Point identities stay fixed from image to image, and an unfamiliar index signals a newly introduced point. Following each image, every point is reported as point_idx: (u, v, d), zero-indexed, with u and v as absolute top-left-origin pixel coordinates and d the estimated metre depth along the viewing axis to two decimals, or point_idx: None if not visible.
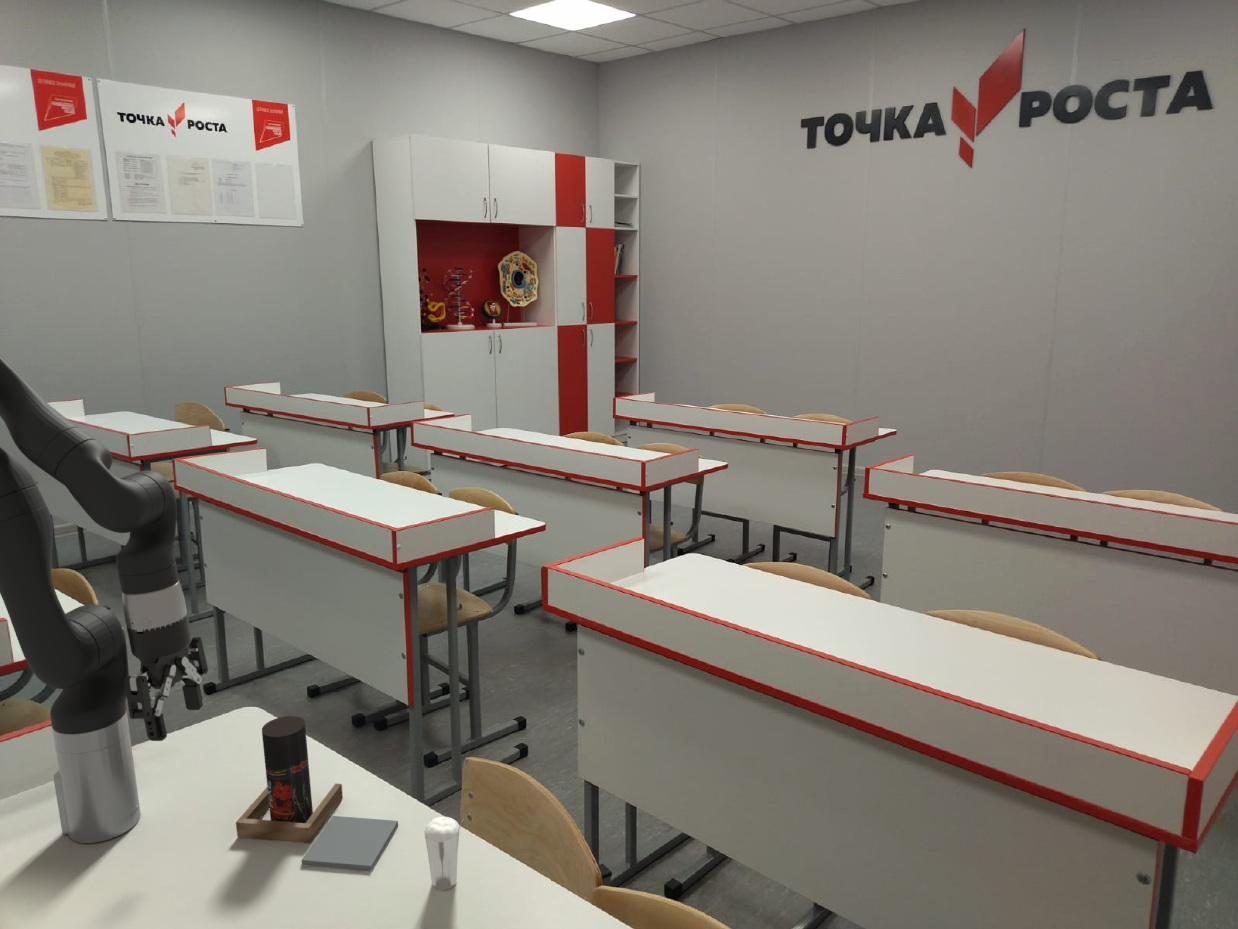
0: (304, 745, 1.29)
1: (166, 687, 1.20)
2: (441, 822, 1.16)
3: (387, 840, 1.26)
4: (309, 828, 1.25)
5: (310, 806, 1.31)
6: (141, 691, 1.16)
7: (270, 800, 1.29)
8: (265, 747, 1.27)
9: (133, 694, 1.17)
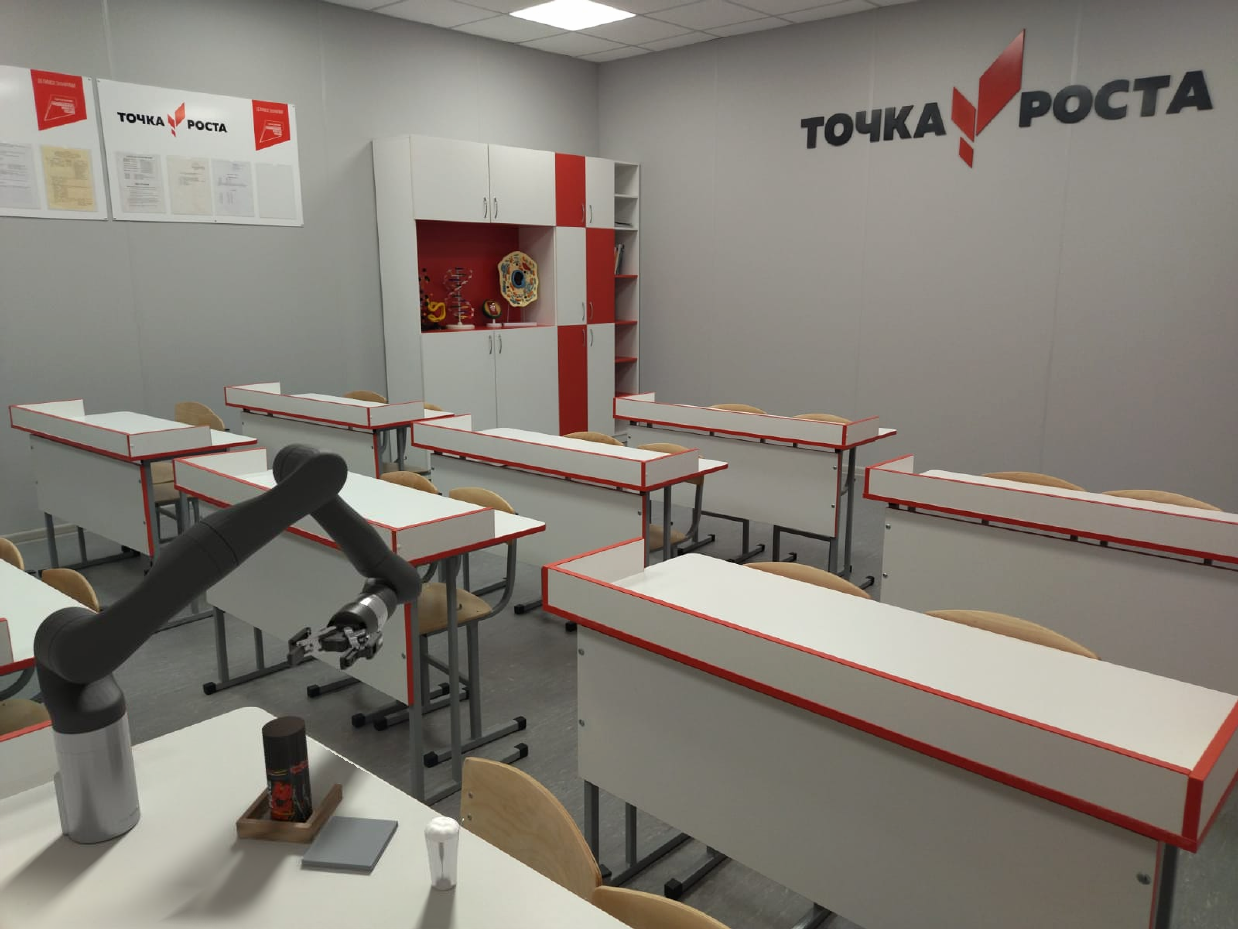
0: (304, 745, 1.29)
1: None
2: (441, 822, 1.16)
3: (387, 840, 1.26)
4: (309, 828, 1.25)
5: (310, 806, 1.31)
6: None
7: (270, 800, 1.29)
8: (265, 747, 1.27)
9: (377, 641, 1.45)
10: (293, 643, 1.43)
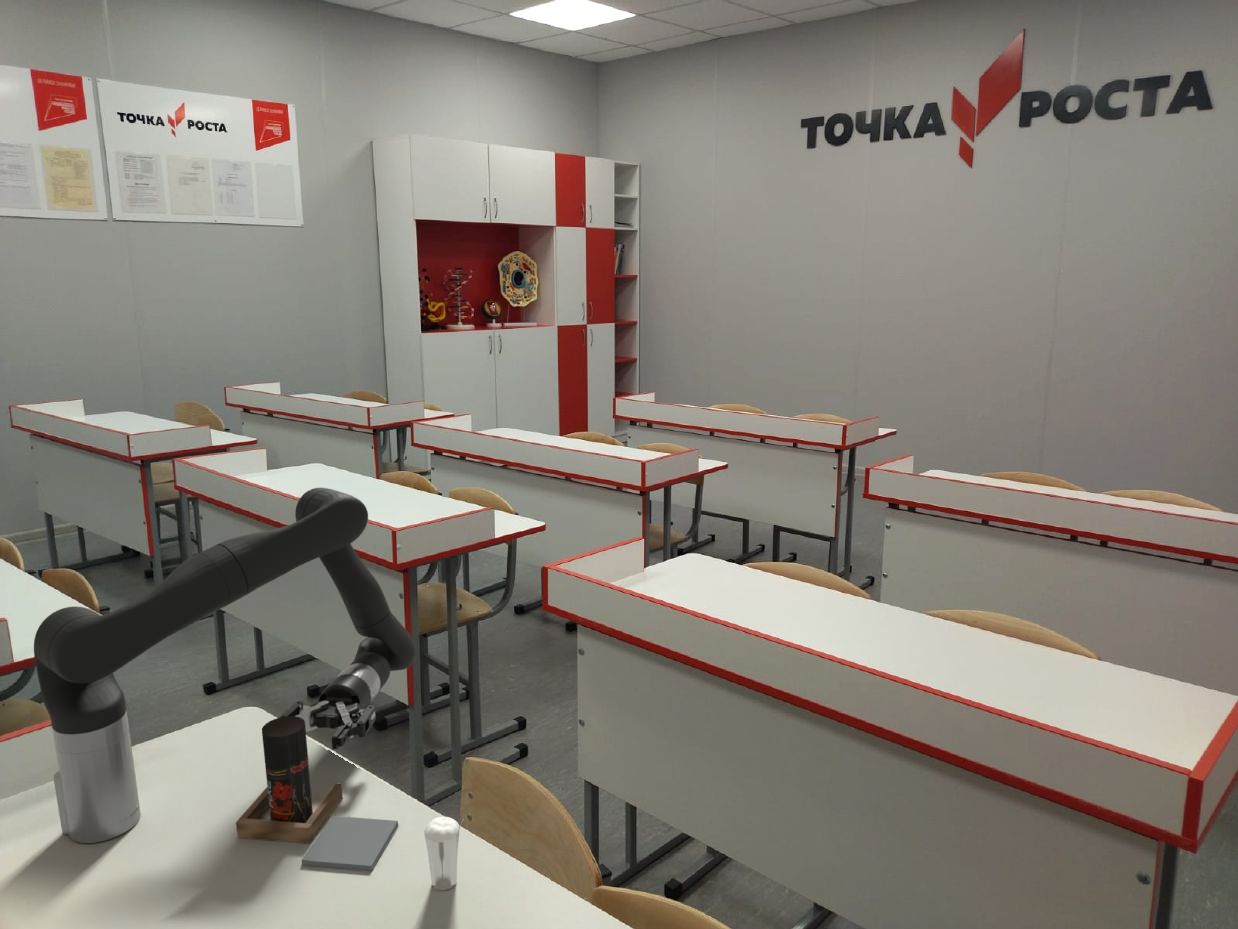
0: (304, 745, 1.29)
1: None
2: (441, 822, 1.16)
3: (387, 840, 1.26)
4: (309, 828, 1.25)
5: (310, 806, 1.31)
6: (372, 723, 1.44)
7: (270, 800, 1.29)
8: (265, 747, 1.27)
9: (370, 717, 1.43)
10: None
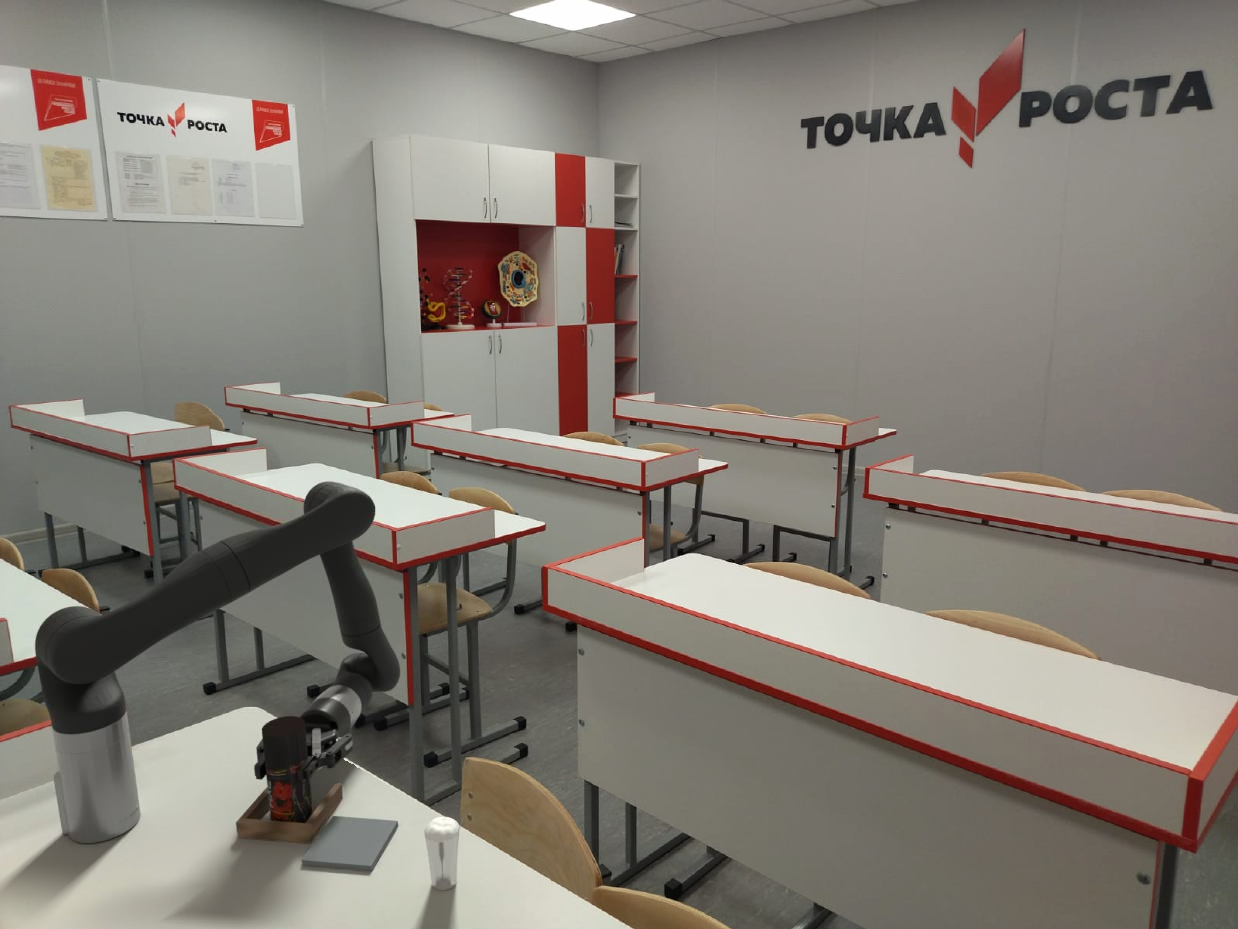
0: (304, 745, 1.29)
1: None
2: (441, 822, 1.16)
3: (387, 840, 1.26)
4: (309, 828, 1.25)
5: (310, 806, 1.31)
6: (347, 754, 1.35)
7: (270, 800, 1.29)
8: (265, 747, 1.27)
9: (344, 747, 1.34)
10: (263, 750, 1.32)
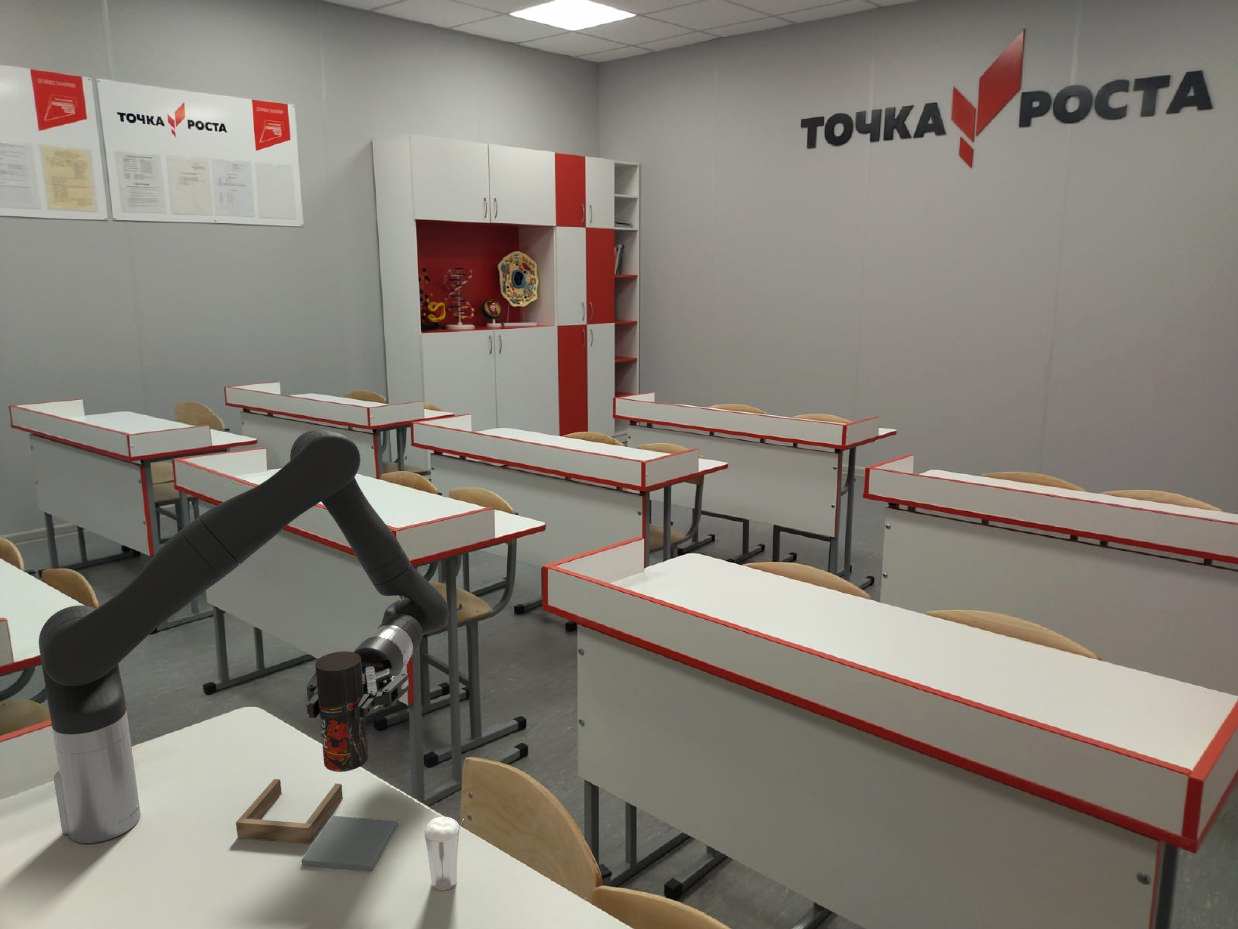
0: (360, 681, 1.20)
1: None
2: (441, 822, 1.16)
3: (387, 840, 1.26)
4: (309, 828, 1.25)
5: (366, 747, 1.23)
6: (403, 693, 1.26)
7: (324, 740, 1.20)
8: (319, 682, 1.18)
9: (400, 686, 1.25)
10: (314, 688, 1.24)
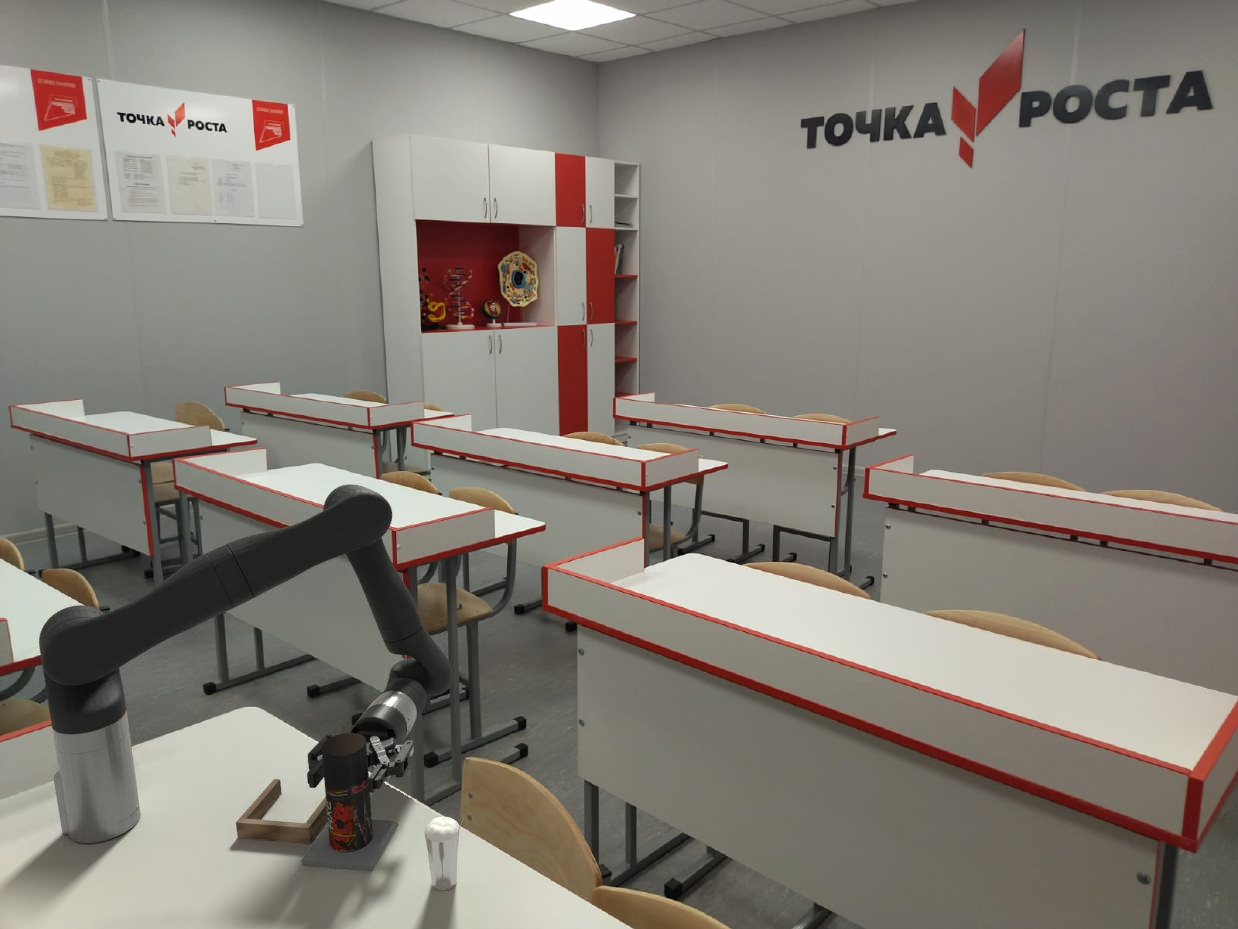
0: (365, 764, 1.23)
1: None
2: (441, 822, 1.16)
3: (387, 840, 1.26)
4: (309, 828, 1.25)
5: (371, 827, 1.25)
6: None
7: (330, 821, 1.23)
8: (325, 766, 1.20)
9: (408, 754, 1.28)
10: (313, 757, 1.26)
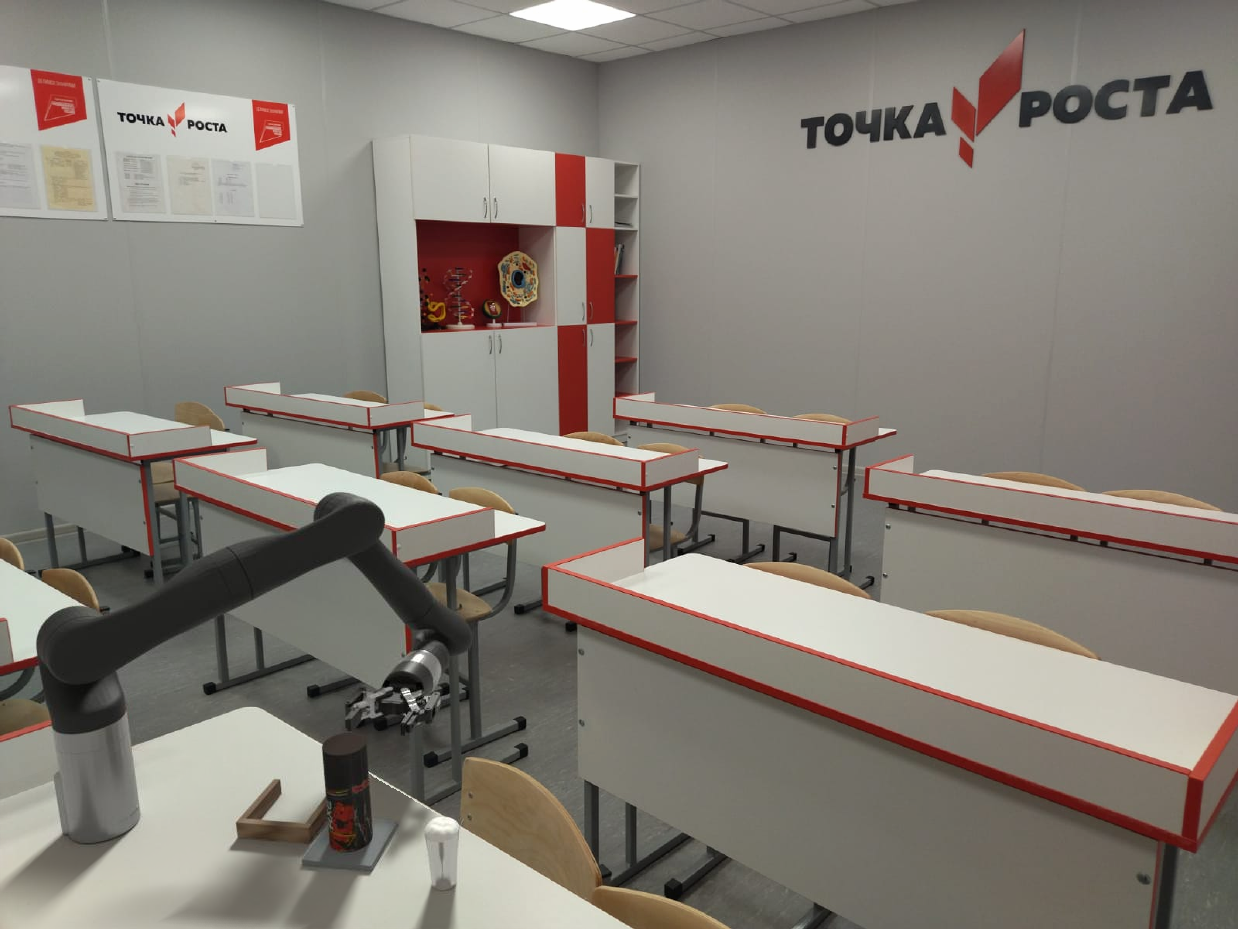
0: (366, 763, 1.23)
1: None
2: (441, 822, 1.16)
3: (387, 840, 1.26)
4: (309, 828, 1.25)
5: (371, 827, 1.25)
6: (438, 710, 1.41)
7: (330, 821, 1.23)
8: (326, 766, 1.21)
9: (436, 704, 1.40)
10: (350, 705, 1.39)
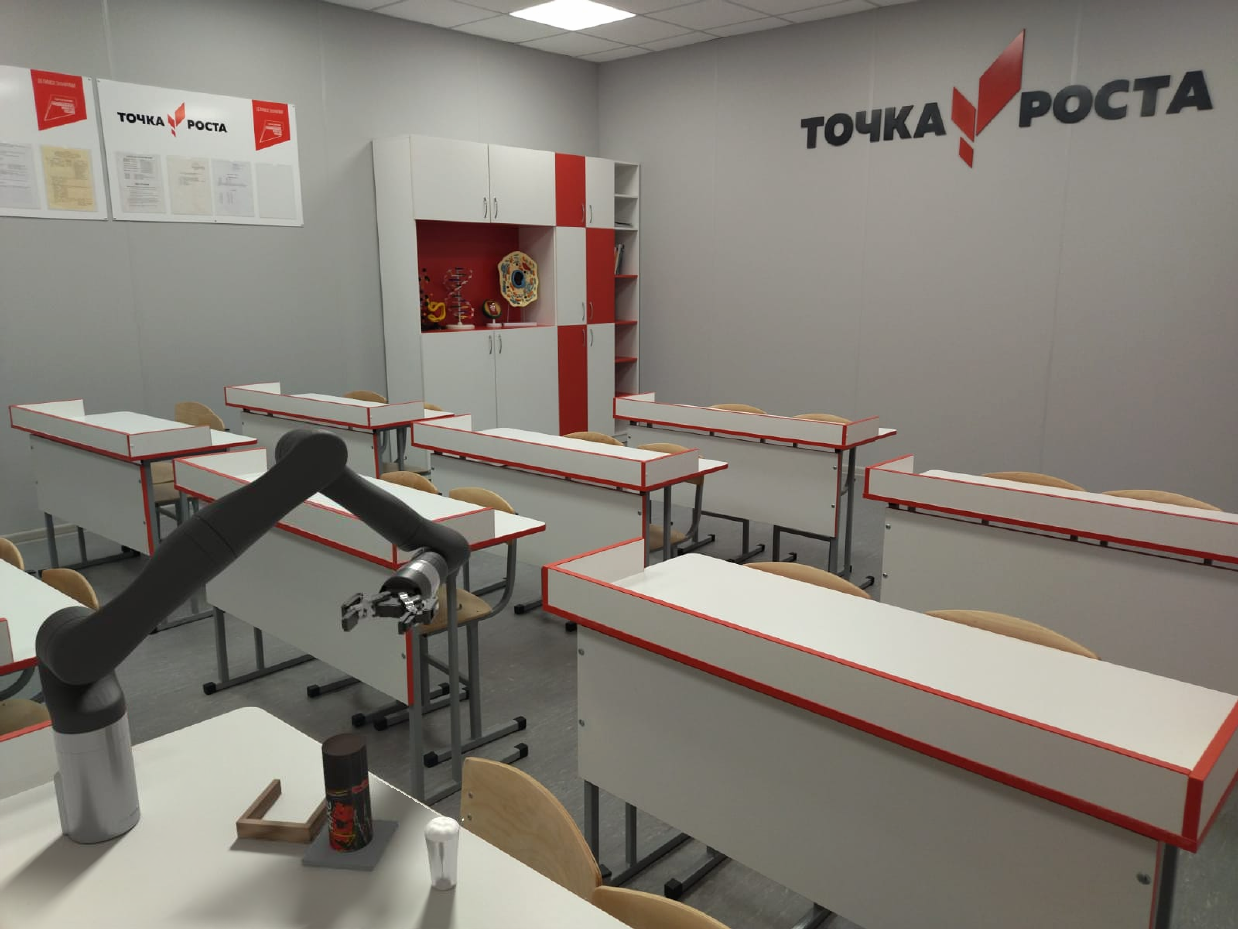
0: (365, 764, 1.23)
1: None
2: (441, 822, 1.16)
3: (387, 840, 1.26)
4: (309, 828, 1.25)
5: (370, 827, 1.25)
6: (436, 614, 1.39)
7: (330, 821, 1.23)
8: (325, 766, 1.21)
9: (434, 607, 1.38)
10: (346, 608, 1.36)
